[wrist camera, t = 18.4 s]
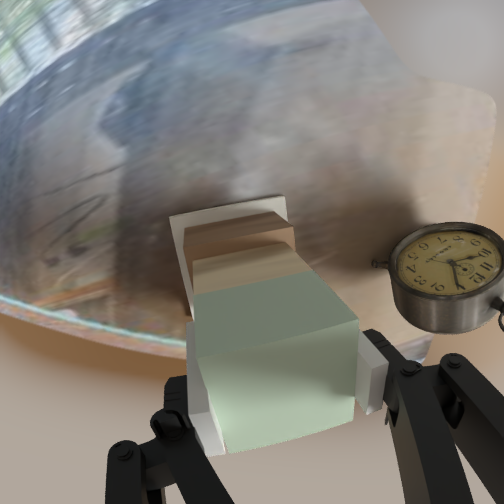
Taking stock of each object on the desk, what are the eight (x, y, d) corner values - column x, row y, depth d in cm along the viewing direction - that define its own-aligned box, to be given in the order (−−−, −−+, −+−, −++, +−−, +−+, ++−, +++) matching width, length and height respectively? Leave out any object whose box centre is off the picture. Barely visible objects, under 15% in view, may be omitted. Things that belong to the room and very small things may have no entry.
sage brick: (193, 295, 15) (196, 358, 11) (312, 269, 16) (359, 318, 11) (218, 386, 17) (229, 453, 13) (318, 361, 18) (352, 420, 13)
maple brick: (192, 260, 20) (193, 296, 15) (285, 242, 21) (313, 270, 16) (211, 339, 22) (218, 386, 17) (294, 321, 23) (318, 362, 18)
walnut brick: (184, 227, 24) (182, 247, 19) (274, 211, 25) (293, 226, 20) (202, 308, 27) (205, 341, 22) (283, 291, 27) (302, 320, 23)
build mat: (169, 216, 24) (168, 217, 24) (282, 195, 25) (284, 196, 25) (193, 317, 27) (193, 320, 27) (293, 295, 28) (295, 298, 28)
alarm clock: (442, 207, 29) (572, 260, 14) (449, 252, 31) (562, 317, 15) (358, 252, 28) (486, 348, 13) (370, 299, 30) (477, 402, 15)
